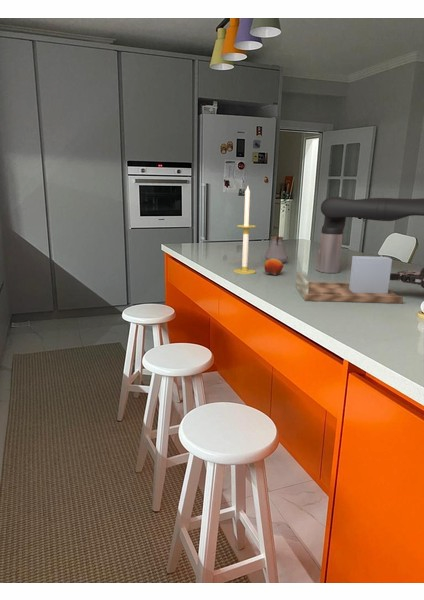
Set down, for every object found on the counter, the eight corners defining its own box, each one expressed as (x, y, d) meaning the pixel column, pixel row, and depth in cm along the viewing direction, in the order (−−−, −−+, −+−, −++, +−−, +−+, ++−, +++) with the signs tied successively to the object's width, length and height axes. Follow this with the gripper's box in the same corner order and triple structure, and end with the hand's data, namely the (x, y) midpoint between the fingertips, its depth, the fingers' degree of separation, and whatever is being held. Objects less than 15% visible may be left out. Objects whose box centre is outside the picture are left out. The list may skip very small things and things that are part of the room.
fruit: (260, 272, 179) (264, 255, 181) (264, 279, 187) (267, 262, 189) (279, 274, 177) (282, 256, 179) (282, 280, 184) (285, 263, 186)
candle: (228, 271, 188) (231, 184, 178) (243, 268, 195) (246, 184, 185) (245, 275, 181) (249, 184, 172) (260, 272, 188) (264, 185, 178)
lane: (305, 300, 141) (306, 282, 139) (295, 287, 160) (297, 271, 159) (401, 303, 140) (404, 285, 138) (381, 289, 159) (383, 273, 158)
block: (353, 292, 147) (356, 258, 144) (349, 289, 152) (352, 256, 149) (387, 293, 147) (392, 259, 144) (382, 290, 152) (386, 256, 149)
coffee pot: (264, 260, 219) (266, 231, 216) (286, 261, 218) (288, 232, 214) (263, 267, 199) (265, 235, 195) (288, 268, 197) (290, 236, 194)
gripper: (430, 264, 153) (381, 262, 153) (448, 271, 140) (395, 269, 141) (427, 284, 155) (379, 282, 155) (444, 293, 142) (392, 291, 142)
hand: (387, 276), depth 148 cm, fingers closed
